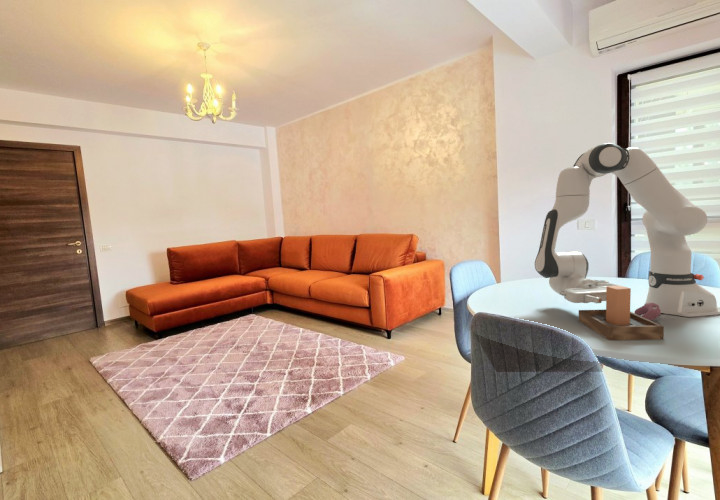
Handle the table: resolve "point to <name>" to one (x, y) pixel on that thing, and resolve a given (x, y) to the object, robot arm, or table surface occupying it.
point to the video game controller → (649, 311)
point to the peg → (618, 305)
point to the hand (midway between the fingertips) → (613, 299)
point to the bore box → (621, 326)
